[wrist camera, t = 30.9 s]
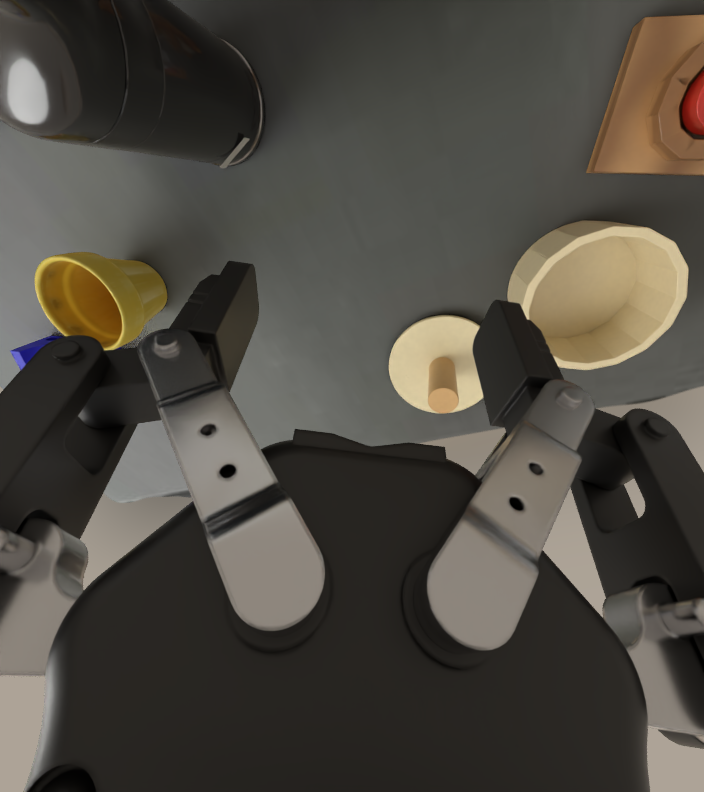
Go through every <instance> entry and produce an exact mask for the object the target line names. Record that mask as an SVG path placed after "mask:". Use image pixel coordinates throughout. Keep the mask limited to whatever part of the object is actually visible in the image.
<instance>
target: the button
mask: <svg viewBox="0 0 704 792" xmlns="http://www.w3.org/2000/svg"><path fill="white" fill-rule="evenodd" d="M682 120H683V123H684V125H685V127H686V128H687V129H688V130H689V131H690V132H692V133H694V134H697V135H704V70H703V71H702V72H701V73H700V75H699V76H698V77H697V78H696V79H695V80H694V82H693V83H692V85H691V86H690V88H689V90H688V92H687V94H686V96H685V99H684V101H683V105H682Z"/></svg>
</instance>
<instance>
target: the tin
mask: <svg viewBox="0 0 704 792" xmlns="http://www.w3.org/2000/svg"><path fill="white" fill-rule="evenodd" d="M688 270H689V268H688V266H687V264H686V262H685V260H684V258H683V256H682V254H681V252H680V251H679V249H678V247H677V245H676V243H675V242H674V241H672V240H670V239H668V238H667V237H665V236H663V235H661V234H659V233H658V232H656V231H654V230H652V229H650V228H648V227H642V226H635V225H629V224H623V223H616V222H610V221H588V220H583V221H579V222H574V223H571V224H567V225H564V226H562V227H559V228H557V229H555V230H553V231H551V232H549V233H548V234H546V235H545V236H543V237H542V238H540V239H539V240H538V241H536V242H535V243H534V244H533V245H532V246H531V247H530V248H529V249H528V250H527V251H526V252H525V253H524V255H523V256H522V257H521V259H520V260H519V262H518V263H517V265H516V267H515V269H514V271H513V273H512V275H511V278H510V281H509V286H508V295H507V297H508V302H515V303H519V304H520V305H521V307H522V309H523V311H524V314H525V316H526V318H527V320H531V321H532V322H533V323H534V324H535V325H536V326H537V327H538V328H539V329H540V330H541V331H542V334H543V336H544V338H545V340H546V344H548V346H549V348H550V353H552V355H553V357H554V359H555V361H556V363H557V365H558V367H563V368H572V369H581V370H590V369H595V368H600V367H605V366H610V365H615V364H618V363H620V362H622V361H624V360H626V359H628V358H630V357H632V356H634V355H636V354H638V353H640V352H642V351H644V350H646V349H647V348H648V347H649V346H650V345H651V344H653V343H654V342H655V341H656V340H657V339H658V338H659V337H660V336H661V335H662V334H663V333H664V332H665V331H666V330H667V329H669V328H670V327H671V326H672V324H673V322H674V320H675V318H676V316H677V315H678V313H679V311H680V309H681V307H682V305H683V303H684V302H685V300H686V297H687V286H688Z"/></svg>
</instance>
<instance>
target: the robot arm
mask: <svg viewBox="0 0 704 792" xmlns="http://www.w3.org/2000/svg"><path fill="white" fill-rule="evenodd" d="M0 120H1V121H2V122H4V123H5V124H7V125H8V126H10V127H12V128H14V129H16V130H18V131H20V132H22V133H24V134H27V135H29V136H32V137H35V138H39V139H43V140H47V141H53V142H60V143H68V144H76V145H84V146H92V147H99V148H106V149H113V150H123V151H130V152H137V153H144V154H151V155H158V156H165V157H172V158H179V159H186V160H193V161H199V162H206V163H212V164H215V165H219V166H220V167H219V168H226V167H227V166H234V165H237V164H240V163H242V162H244V161H245V160H246V159H248V158H249V157H250V156H251V155H252V154H253V152H254V151H255V149H256V148H257V146H258V144H259V142H260V139H261V136H262V133H263V128H264V121H265V107H264V99H263V94H262V90H261V86H260V83H259V81H258V78H257V76H256V74H255V72H254V70H253V68H252V66H251V65H250V63H249V62H248V60H247V59H246V58H245V57H244V56H243V54H242V53H241V52H240V51H238V50H237V49H236V48H235V47H234V46H232V45H231V44H229V43H228V42H226V41H224V40H222V39H220V38H219V37H217V36H216V35H215V34H213V33H212V32H211V31H209V30H208V29H207V28H205V27H204V26H203V25H201V24H200V23H198V22H197V21H196V20H194V19H193V18H191V17H190V16H189V15H187V14H186V13H184V12H183V11H182V10H180V9H179V8H178V7H176V6H175V5H173V4H172V3H171V2H169V1H168V0H0ZM258 315H259V302H258V293H257V283H256V274H255V268H254V265H253V264H248V263H241V262H234V261H228V262H227V264H226V266H225V267H224V269H223V271H222V272H221V274H220V275H213V274H212V275H210V276H208V277H207V278H205V279H204V280H202V281H201V282H199V284H198V285H197V287H196V288H195V290H194V291H193V294H192V295H191V296H190V298H189V299H188V302H186V304H185V305H184V307H183V308H182V310H181V311H180V313H179V314H178V316H177V317H176V319H175V320H174V322H173V323H172V325H171V326H170V328H169V329H162V330H158V331H155V332H153V333H150V334H149V335H147V336H146V337H144V338H143V339H142V340H141V341H140V343H139V344H138V347H135V348H126V349H115V350H104V349H103V347H102V345H101V344H100V342H99V341H98V340H97V339H95V338H93V337H90V336H86V335H71V336H66V337H62V338H58V339H56V340H53V341H51V342H49V343H47V344H46V345H44V346H43V347H42V348H41V349H39V350H38V351H37V353H36V354H35V355H34V356H33V357H32V358H31V359H30V361H29V362H28V363H27V364H26V365H25V366H24V367H23V368H22V370H21V371H20V372H19V373H18V374H17V375H16V376H15V377H14V379H13V380H12V381H11V382H10V383H9V384H8V385H7V386H6V388H5V389H4V390H3V391H2V392H1V393H0V676H26V677H27V676H29V677H31V676H32V677H33V676H35V677H36V676H38V677H45V701H44V703H45V704H44V712H43V720H42V727H41V732H40V737H39V742H38V747H37V751H36V754H35V758H34V761H33V765H32V768H31V772H30V775H29V778H28V781H27V784H26V787H25V789H24V791H23V792H650V786H649V777H648V768H647V733H648V728H653V729H658V730H659V731H660V732H661V733H662V734H663V735H664V736H665V737H667V738H668V739H669V740H671V741H673V742H675V743H677V744H679V745H683V746H689V747H695V748H702V749H704V472H703V471H702V469H701V467H700V466H699V464H698V463H697V461H696V459H695V458H694V456H693V455H692V453H691V451H690V450H689V448H688V446H687V445H686V443H685V441H684V440H683V438H682V437H681V435H680V434H679V432H678V431H677V429H676V428H675V427H674V426H673V425H672V424H671V423H670V422H668V421H667V420H666V419H664V418H663V417H661V416H660V415H658V414H656V413H654V412H651V411H648V410H645V409H632V410H631V411H629V412H628V413H626V414H625V415H624V416H623V417H622V418H619V417H617V416H614V415H611V414H608V413H606V412H603V411H600V410H598V409H595V404H594V402H593V400H592V398H591V397H590V396H589V394H588V393H587V392H586V391H584V390H583V389H582V388H580V387H579V386H577V385H575V384H573V383H571V382H568V381H565V380H564V378H563V376H562V374H561V372H560V370H559V367H558V365H557V363H556V361H555V359H554V357H553V355H552V353H550V348H549V346H548V344H546V340H545V338H544V336H543V334H542V331H541V330H540V329H539V328H538V327H537V326H536V325H535V324H534V323H533V322H532V321H531V320H527V318H526V316H525V314H524V311H523V309H522V307H521V305H520V304H519V303H515V302H508V301H501V300H495V301H494V302H493V303H492V304H491V306H490V308H489V310H488V312H487V314H486V316H485V318H484V320H483V322H482V324H481V326H480V328H479V330H478V332H477V334H476V336H475V338H474V341H473V348H472V351H473V356H474V360H475V364H476V368H477V372H478V376H479V380H480V384H481V389H482V393H483V397H484V401H485V405H486V409H487V413H488V417H489V421H490V425H491V426H499V427H505V429H506V433H505V434H504V435H503V436H502V438H501V439H500V441H499V442H498V443H497V445H496V446H495V448H494V449H493V451H492V452H491V454H490V455H489V457H488V458H487V459H486V461H485V462H484V464H483V465H482V467H481V469H479V471H478V472H477V474H476V475H474V474H472V473H471V472H470V471H468V470H467V469H465V468H464V467H462V466H461V465H459V464H457V463H455V462H453V461H451V460H448V459H446V452H445V447H439V446H432V445H423V444H415V443H401V444H392V445H383V446H374V447H371V446H366V445H364V444H361V443H358V442H355V441H352V440H349V439H347V438H344V437H341V436H338V435H335V434H332V433H324V432H316V431H308V430H299V429H295V431H294V436H293V440H289V441H283V442H279V443H275V444H272V445H269V446H267V447H265V448H263V449H260V448H259V446H258V444H257V442H256V440H255V439H254V437H253V435H252V433H251V431H250V430H249V428H248V426H247V424H246V422H245V420H244V419H243V417H242V415H241V413H240V411H239V410H238V408H237V406H236V404H235V402H234V401H233V399H232V397H231V395H230V393H229V392H230V390H231V387H232V384H233V382H234V379H235V377H236V374H237V372H238V369H239V367H240V364H241V362H242V359H243V357H244V354H245V352H246V349H247V347H248V344H249V342H250V339H251V337H252V334H253V332H254V329H255V327H256V324H257V321H258ZM157 420H162V422H163V424H164V427H165V430H166V432H167V435H168V437H169V440H170V442H171V445H172V448H173V450H174V453H175V455H176V458H177V460H178V463H179V466H180V468H181V471H182V473H183V476H184V479H185V481H186V484H187V486H188V489H189V491H190V494H191V497H192V499H193V502H191V503H190V504H189V505H187V506H186V507H185V508H184V509H183V510H181V511H180V512H179V513H177V514H176V515H175V516H174V517H172V518H171V519H170V520H169V521H167V522H166V523H165V524H164V525H163V526H161V527H160V528H159V529H157V530H156V531H155V532H154V533H152V534H151V535H150V536H149V537H147V538H146V539H145V540H144V541H142V542H141V543H140V544H138V545H137V546H136V547H135V548H133V549H132V550H131V551H130V552H128V553H127V554H126V555H125V556H123V557H122V558H121V559H120V560H118V561H117V562H116V563H115V564H113V565H112V566H111V567H110V568H108V569H107V570H106V571H105V572H103V573H102V574H101V575H100V576H98V577H97V578H96V579H95V580H94V581H93V582H92V583H91V584H90V585H89V586H88V587H87V588H86V589H85V590H83V578H84V573H85V570H86V567H87V563H88V551H87V548H86V546H85V544H84V543H83V542H82V541H81V540H80V538H81V536H82V534H83V532H84V530H85V528H86V526H87V524H88V522H89V520H90V518H91V516H92V514H93V512H94V510H95V508H96V506H97V504H98V502H99V500H100V498H101V496H102V494H103V492H104V490H105V488H106V486H107V484H108V482H109V480H110V478H111V476H112V474H113V472H114V470H115V468H116V466H117V464H118V462H119V460H120V458H121V456H122V454H123V452H124V450H125V448H126V446H127V444H128V442H129V440H130V438H131V436H132V434H133V432H134V430H135V428H136V426H137V424H138V423H144V422H150V421H157ZM633 478H635V480H636V483H637V485H638V487H639V489H640V491H641V493H642V496H643V498H644V500H645V512H644V514H643V515H642V516H641V517H640V518H638V516H637V514H636V511H635V509H634V507H633V505H632V502H631V500H630V497H629V495H628V493H627V491H626V488H625V486H624V484H625V483H627V482H629V481H630V480H632V479H633ZM570 487H571V490H572V493H573V496H574V500H575V503H576V505H577V509H578V512H579V515H580V518H581V521H582V525H583V528H584V531H585V534H586V537H587V540H588V543H589V546H590V549H591V553H592V556H593V559H594V562H595V565H596V568H597V571H598V575H599V578H600V581H601V584H602V587H603V590H604V593H605V596H606V599H605V601H604V604H603V618H602V617H601V616H600V614H599V613H598V612H597V611H596V610H595V609H594V608H593V607H592V605H591V604H590V603H589V602H588V601H587V600H586V599H585V598H584V597H583V595H582V594H581V593H580V592H579V591H578V590H577V589H576V588H575V586H574V585H573V584H572V583H571V582H570V581H569V579H568V578H567V577H566V576H565V575H564V574H563V573H562V572H561V570H560V569H559V568H558V567H557V566H556V565H555V564H554V563H553V561H551V559H550V558H549V557H548V556H547V555H546V554H545V553H544V551H543V550H542V549H543V547H544V545H545V542H546V540H547V538H548V536H549V533H550V531H551V529H552V527H553V524H554V522H555V520H556V518H557V515H558V513H559V511H560V509H561V506H562V504H563V502H564V499H565V497H566V495H567V493H568V490H569V488H570Z"/></svg>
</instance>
